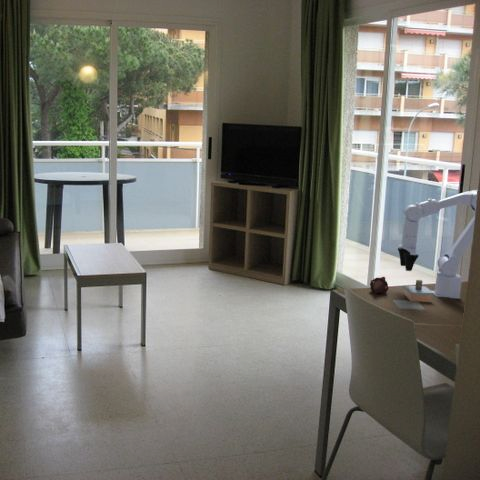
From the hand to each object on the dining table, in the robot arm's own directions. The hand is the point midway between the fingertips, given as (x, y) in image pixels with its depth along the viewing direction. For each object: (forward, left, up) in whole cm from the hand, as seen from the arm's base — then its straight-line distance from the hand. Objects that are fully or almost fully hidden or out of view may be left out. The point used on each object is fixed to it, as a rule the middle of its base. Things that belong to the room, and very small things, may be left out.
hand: (405, 268), depth 275 cm
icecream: (+11, +5, -10) cm, 16 cm away
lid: (-3, +10, -6) cm, 12 cm away
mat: (+3, +19, -10) cm, 22 cm away
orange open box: (-3, +10, -10) cm, 14 cm away
